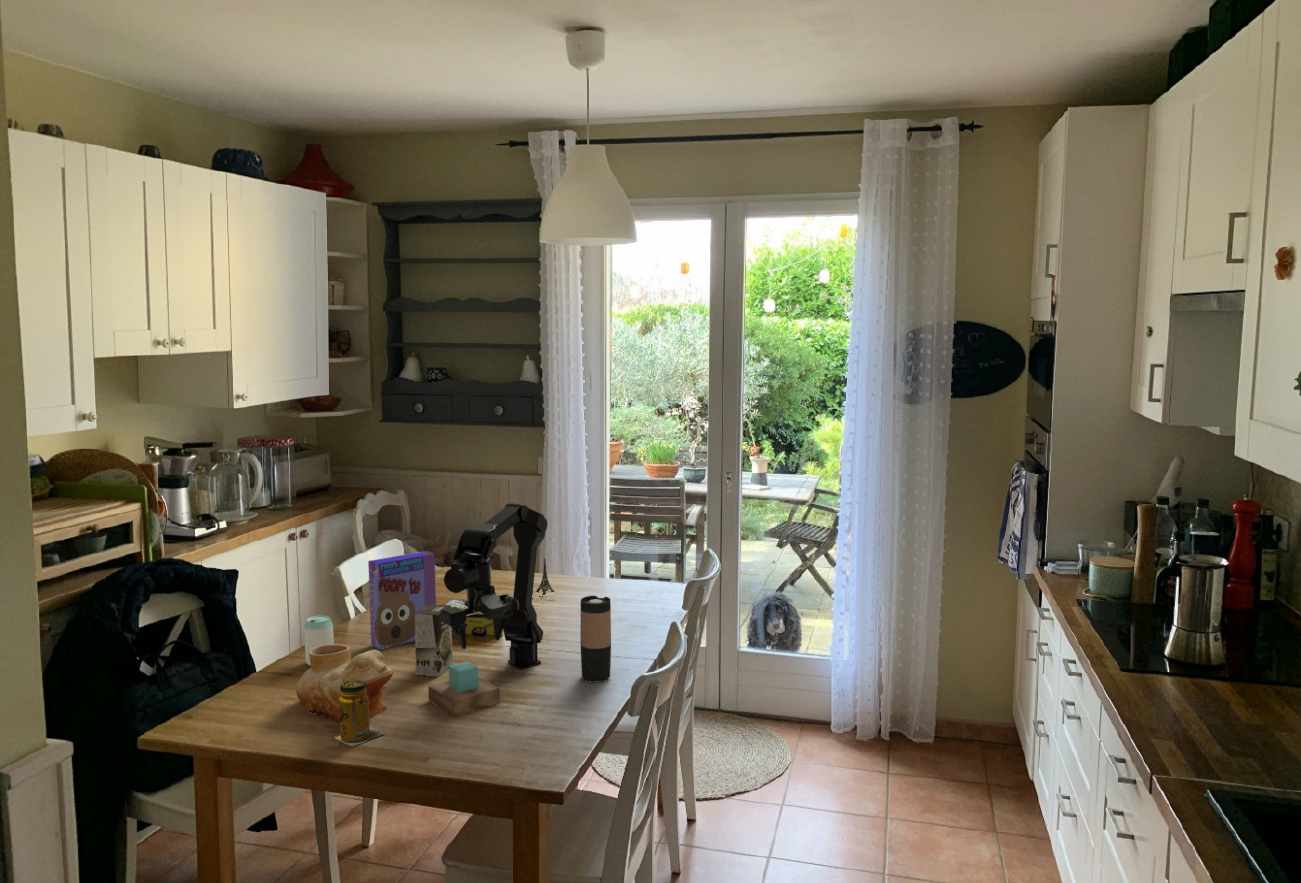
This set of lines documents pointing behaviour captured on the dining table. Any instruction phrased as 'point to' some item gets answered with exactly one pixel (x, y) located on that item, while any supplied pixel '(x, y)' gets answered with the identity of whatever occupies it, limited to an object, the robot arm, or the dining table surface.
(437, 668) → the coffee box
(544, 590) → the eiffel tower figurine
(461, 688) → the teal block
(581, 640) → the travel mug
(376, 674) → the ceramic vessel
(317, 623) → the can
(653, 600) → the dining table surface
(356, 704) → the condiment
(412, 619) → the cereal box
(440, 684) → the walnut block
